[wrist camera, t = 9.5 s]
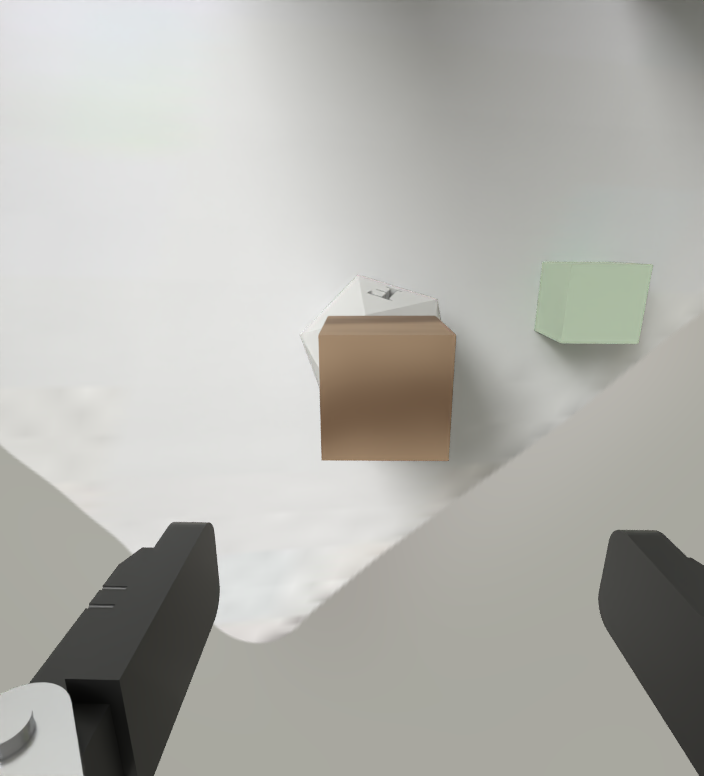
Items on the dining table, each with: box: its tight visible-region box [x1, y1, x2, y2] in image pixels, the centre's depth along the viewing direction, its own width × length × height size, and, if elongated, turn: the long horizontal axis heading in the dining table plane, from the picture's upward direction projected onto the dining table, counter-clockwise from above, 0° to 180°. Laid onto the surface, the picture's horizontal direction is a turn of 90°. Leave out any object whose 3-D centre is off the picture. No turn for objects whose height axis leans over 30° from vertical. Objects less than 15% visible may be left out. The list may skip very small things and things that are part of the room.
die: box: [300, 275, 441, 388], centre depth 28 cm, size 8×9×10 cm
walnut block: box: [318, 316, 456, 461], centre depth 22 cm, size 6×6×6 cm
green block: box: [534, 262, 653, 344], centre depth 29 cm, size 4×4×4 cm
